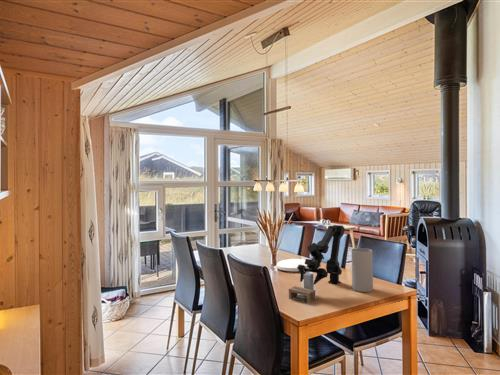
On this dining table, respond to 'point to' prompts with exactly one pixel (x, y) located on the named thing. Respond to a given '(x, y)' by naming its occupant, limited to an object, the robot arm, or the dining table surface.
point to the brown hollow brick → (304, 291)
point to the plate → (291, 264)
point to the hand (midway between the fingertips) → (307, 282)
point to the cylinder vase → (362, 270)
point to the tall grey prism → (307, 284)
